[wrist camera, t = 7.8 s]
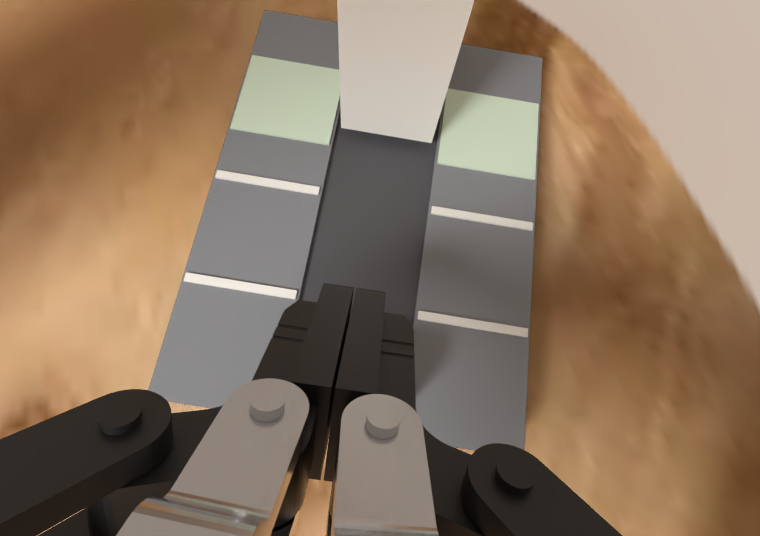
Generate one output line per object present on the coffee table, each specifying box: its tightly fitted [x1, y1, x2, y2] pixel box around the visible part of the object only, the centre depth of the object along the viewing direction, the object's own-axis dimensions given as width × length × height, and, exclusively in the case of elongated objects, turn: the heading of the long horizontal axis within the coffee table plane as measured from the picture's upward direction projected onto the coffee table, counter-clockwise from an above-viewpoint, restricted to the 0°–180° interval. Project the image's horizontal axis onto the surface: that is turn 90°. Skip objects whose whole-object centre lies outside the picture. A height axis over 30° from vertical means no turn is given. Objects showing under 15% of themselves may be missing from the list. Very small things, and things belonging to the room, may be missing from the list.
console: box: [148, 10, 542, 451], centre depth 17 cm, size 12×16×4 cm
